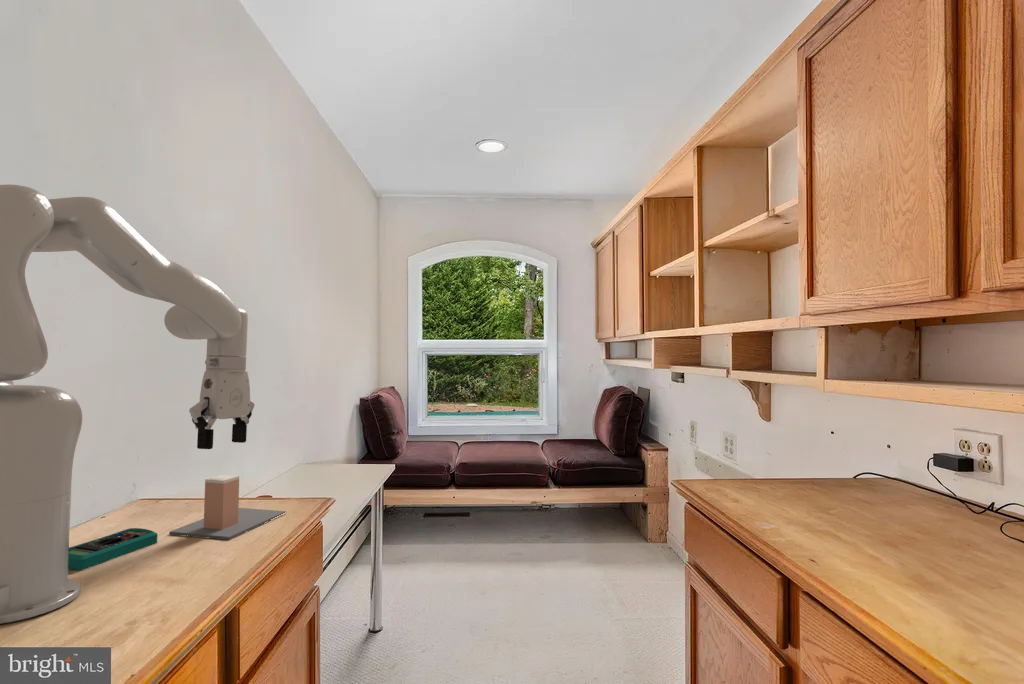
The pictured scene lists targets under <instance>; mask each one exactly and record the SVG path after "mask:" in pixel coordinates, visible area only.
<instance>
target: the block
mask: <svg viewBox="0 0 1024 684" xmlns="http://www.w3.org/2000/svg"><path fill="white" fill-rule="evenodd" d="M239 488H240V476H239V475H230V474H229V475H228V474H219V475H217V476H213V477H208V478H205V481H204V504H203V505H204V509H203V519H204V528H212V529H224V528H227V527H229V526H232V525H234V524H236V523H238V508H239V502H240V501H239V499H240V496H239V495H240V489H239Z"/></svg>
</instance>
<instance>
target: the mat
mask: <svg viewBox="0 0 1024 684" xmlns="http://www.w3.org/2000/svg"><path fill="white" fill-rule="evenodd" d="M285 512H286V513H287V511H286V510H285V511H284V510H274V509H260V508H248V507H238V523H236V524H234V525H232V526H229V527H227V528H224V529H212V528H204V518H202V519H199V520H197V521H194V522H191V523H188V524H186V525H184V526H183V525H182V526H181V527H178V528H176V529H175V528H174V529H171V530H170V531H169V534H172V535H171V536H179V535H186V536H185V537H190V536H197V537H196V538H201V537H209V538H208V539H213V538H217V539H216V540H224V539H225V541H230V540H232V538H233V539H234V537H235V538H237V537H239V536H241V535H243V534H245V532H246V531H248V532H249V530H250V531H252V530H254V529H256V528H258V527H257V526H259V525H261V524H263V523H265V522H267V521H269V520H271V519H273V518H275V517H277V516H279V515H281V514H283V513H285ZM267 523H268V522H267ZM265 524H266V523H265ZM263 525H264V524H263ZM261 526H262V525H261ZM255 527H256V528H255ZM259 527H260V526H259ZM253 528H254V529H253ZM251 529H252V530H251ZM246 533H247V532H246ZM187 535H188V536H187Z"/></svg>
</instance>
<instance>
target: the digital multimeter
mask: <svg viewBox="0 0 1024 684" xmlns="http://www.w3.org/2000/svg"><path fill="white" fill-rule="evenodd" d="M155 543H156V544H157V543H158V533H157V532H155V531H153V530H151V529H147V528H138V527H136V528H131V527H130V528H127V529H123V530H121V531H117V532H114V533H112V534H109V535H105V536H103V537H100V538H96V539H93V540H90V541H87V542H83V543H80V544H77V545H73V546H69V556H68V570H71V569H75V570H74V571H84V570H87V569H90V568H93V567H94V566H97V564H98V565H99V564H100V565H101V564H102V563H106V562H108V561H110V559H111V560H113V558H114V559H116V558H118V557H121V556H124V555H127V554H130V553H133V552H135V551H138V550H141V549H144V548H147V547H149V546H153V545H155ZM152 544H153V545H152ZM89 567H90V568H89ZM86 568H87V569H86ZM83 569H84V570H83Z"/></svg>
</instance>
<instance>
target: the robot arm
mask: <svg viewBox="0 0 1024 684" xmlns="http://www.w3.org/2000/svg"><path fill="white" fill-rule="evenodd" d="M73 251H75V252H77V253H80V254H81V255H82V256H83V257H84V258H86V259H87V260H88V261H89V262H91V264H94V266H96V267H97V268H98V269H100V270H101V272H103V273H104V274H105V275H107V276H108V277H109V278H110V279H111V280H113V281H114V282H115V283H116V284H118V286H120V287H121V288H122V289H124V290H126V291H128V292H129V293H133V294H137V295H139V296H143V297H146V298H149V299H154V300H159V301H162V302H165V303H169V304H173V306H172V307H170V308H169V309H168V310H167V311H166V312H165V315H164V320H163V321H164V326H165V328H166V330H167V331H168V333H170V334H171V335H172V336H174V337H176V338H178V339H183V340H206V357H205V361H204V364H205V371H204V373H203V376H202V381H201V384H200V385H201V386H200V392H199V402H197V403H196V404H194V405H193V406H192V407H190V408H189V409H188V410H189V414H190V417H191V421H192V423H193V424H194V428H195V429H196V430H197V440H196V443H197V444H196V448H197V450H198V449H199V450H212V449H213V446H214V431H215V430H214V429H212V428H213V425H214V424H215V422H216V421H217V419H218V420H226V419H227V420H228V419H232V420H233V421H234V423H233V424H232V427H231V429H232V430H231V431H232V432H231V442H232V443H241V444H244V443H246V442H247V433H248V429H247V428H248V424H249V423H250V418H251V417H252V416H253V415H252V414H253V410H254V408H255V403H254V402H252V401H251V389H250V388H251V387H250V386H251V385H250V379H249V374H248V371H246V369H247V346H248V345H247V344H248V343H247V342H248V325H249V323H248V321H249V316H248V313H247V311H246V310H245V309H243V308H239V307H237V305H236V304H235V303H234V302H233V300H231V298H230V297H229V296H228V295H227V294H226V293H225V292H224V291H223V290H222V289H221V288H220V287H218V286H217V285H216V284H215V283H214V282H212V281H211V280H209V279H207V278H205V277H204V276H202V275H200V274H198V273H196V272H194V271H192V270H191V269H188V268H187V267H184V266H183V265H181V264H179V263H177V262H174V261H172V260H170V259H168V258H167V257H165V256H164V255H163V254H161V253H160V252H159V251H158V250H157V249H156V248H155V247H153V245H152V244H150V243H149V241H148V240H146V239H145V238H144V237H143V236H142V234H141V233H139V231H137V230H136V229H135V228H134V227H133V226H132V225H131V224H130V223H129V222H128V221H126V219H125V218H124V217H123V216H121V214H119V212H118V211H116V210H115V209H114V208H113V207H112V206H110V205H109V204H107V203H106V202H105V201H103V200H101V199H99V198H95V197H92V196H70V197H60V198H47V197H46V196H45V194H43V193H41V192H40V191H38V190H36V189H34V188H32V187H28V186H24V185H19V184H0V625H1V624H7V623H13V622H17V621H22V620H26V619H30V618H31V619H32V618H33V617H37V616H39V615H44V614H46V613H49V612H51V611H54V610H57V609H58V608H61V607H64V606H65V605H67V604H69V603H71V602H72V601H73V600H75V599H76V598H77V597H78V596H79V595H80V593H81V583H80V582H79V581H78V580H75V579H71V578H68V577H69V576H68V574H69V569H68V556H69V547H70V546H69V545H70V530H71V529H70V527H71V526H70V525H71V509H72V508H71V503H72V502H71V501H72V478H73V465H74V457H75V452H76V447H77V444H78V441H79V438H80V433H81V430H82V424H83V412H82V407H81V406H80V404H79V402H78V401H77V400H76V399H75V397H74V396H72V394H70V393H68V392H67V391H65V390H62V389H59V388H57V387H53V386H46V385H32V384H31V385H29V384H27V385H26V384H15V383H14V381H19V380H24V379H26V378H27V379H28V378H31V377H32V376H34V375H36V374H38V373H39V372H40V371H42V369H44V367H45V366H46V365H47V361H48V358H49V351H48V345H47V341H46V338H45V336H44V332H43V330H42V327H41V324H40V321H39V318H38V316H37V313H36V310H35V308H34V304H33V302H32V299H31V296H30V293H29V289H28V285H27V281H26V267H27V263H28V261H29V258H30V256H31V254H32V253H47V252H48V253H55V252H58V253H59V252H73Z"/></svg>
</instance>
